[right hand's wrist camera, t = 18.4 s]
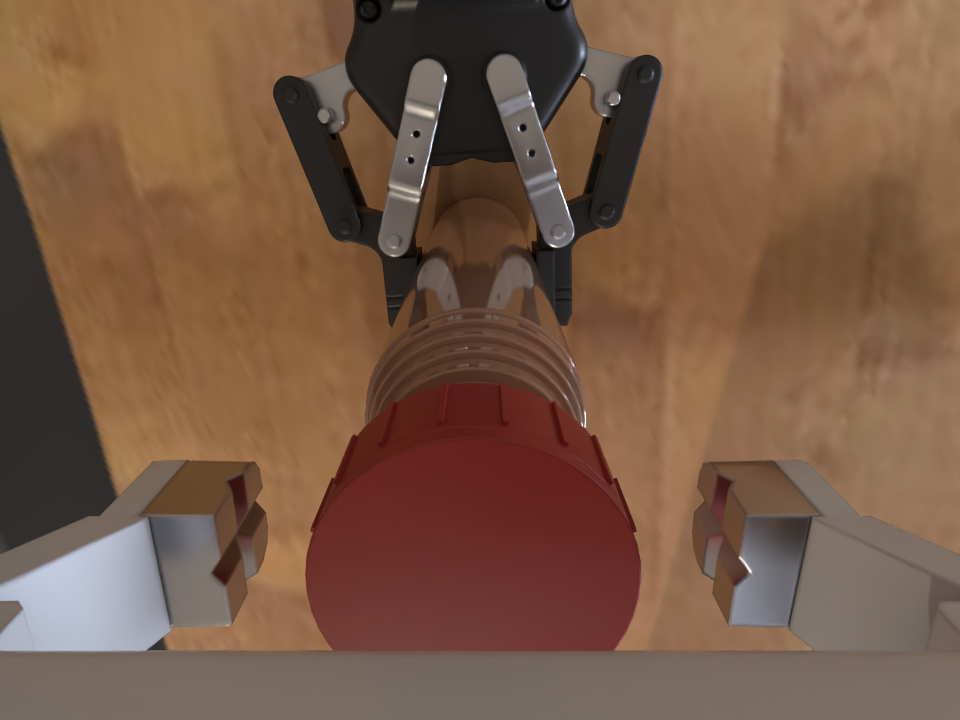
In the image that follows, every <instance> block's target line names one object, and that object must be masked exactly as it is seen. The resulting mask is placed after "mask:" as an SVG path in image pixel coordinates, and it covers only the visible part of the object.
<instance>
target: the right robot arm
mask: <svg viewBox="0 0 960 720" xmlns="http://www.w3.org/2000/svg"><path fill="white" fill-rule="evenodd" d="M262 488H263V487H262V481H261V475H260V469H259V467H258V466H257V464H256V463H255V462H240V461H189V460H166V461H153V462H152V463H151V464H150V465H149V466H148V467H147V468H146V469H145V470H144V471H143V472H142V473H141V474H140V475H139V476H138V477H137V478H136V479H135V480H134V482H133V483H132V484H131V485H130V486H129V487H128V488H127V489H126V490H125V491H124V492H123V493H122V494H121V495H120V496H119V497H118V498H117V499H116V500H115V501H114V502H113V503H112V504H111V505H110V506H109V507H108V508H107V509H106V510H105V511H104V512H103V513H102V514H101V515H100V516H92V517H90V516H89V517H86V518H84V519H82V520H79V521H77V522H75V523H72V524H70V525H68V526H66V527H63V528H61V529H58V530H56V531H54V532H51V533H49V534H47V535H45V536H42V537H40V538H37V539H35V540H33V541H30V542H28V543H26V544H24V545H21V546H19V547H17V548H14V549H12V550H10V551H7V552H5V553H3V554H0V720H960V554H957V553H955V552H953V551H950V550H948V549H946V548H943V547H941V546H939V545H936V544H934V543H932V542H929V541H927V540H925V539H922V538H920V537H918V536H915V535H913V534H911V533H908V532H906V531H904V530H902V529H899V528H897V527H895V526H892V525H890V524H888V523H885V522H883V521H881V520H878V519H876V518H874V517H871V516H860V515H859V514H858V513H857V512H856V511H855V510H854V509H853V508H852V507H851V506H850V505H849V504H848V503H847V502H846V501H845V500H844V499H843V498H842V497H841V496H840V495H839V494H838V493H837V492H836V491H835V490H834V489H833V488H832V487H831V486H830V484H829V483H828V482H827V481H826V480H825V479H824V478H823V477H822V476H821V475H820V474H819V473H818V472H817V471H816V470H815V469H814V468H813V467H812V466H811V465H810V464H809V463H808V462H806V461H803V460H783V461H773V460H772V461H730V462H707V463H703V465H702V468H701V470H700V473H699V480H698V486H697V488H698V489H699V491H700V493H701V495H702V496H703V498H704V500H705V501H704V502H703V503H702V504H701V505H700V507H699V508H698V509H697V510H696V511H695V512H694V518H693V528H692V535H693V548H694V552H695V556H696V560H697V563H698V565H699V567H700V569H701V571H702V573H703V574H705V575H706V576H708V577H709V578H711V579H712V580H714V585H713V592H712V594H713V596H714V598H715V600H716V602H717V604H718V606H719V608H720V610H721V612H722V614H723V616H724V618H725V620H726V622H727V624H728V626H754V627H789V631H791V632H792V633H793V634H794V635H796V636H797V637H798V638H799V639H801V640H802V641H803V642H804V643H806V644H807V645H808V646H810V647H811V648H812V649H813V650H815V651H146V650H147V649H148V648H149V647H151V646H152V645H153V644H155V643H156V642H157V641H158V640H160V639H161V638H162V637H163V636H165V635H166V634H167V633H168V632H170V631H171V627H205V626H232V624H233V622H234V620H235V618H236V616H237V614H238V612H239V610H240V608H241V606H242V604H243V602H244V600H245V598H246V596H247V594H248V592H247V585H246V580H248V579H249V578H251V577H252V576H254V575H255V574H257V573H258V571H259V569H260V567H261V565H262V562H263V560H264V556H265V551H266V546H267V535H268V525H267V517H266V512H265V511H264V510H263V509H262V508H261V507H260V505H259V504H258V503H257V502H256V501H255V500H256V498H257V496H258V495H259V493H260V491H261V489H262Z"/></svg>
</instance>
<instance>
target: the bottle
mask: <svg viewBox="0 0 960 720" xmlns="http://www.w3.org/2000/svg"><path fill="white" fill-rule="evenodd" d="M445 382H448V385H450V384H460V383H490V384H497V385H499V384H500V382H503V383H506V386H509V387H513V388H517V389H520V390H524V391H527V392H529V393H532V394H534V395H537V396H539V397H542V398H544V399H546V400H547V401H549V402H551V403H552V402H553V401H556V402H557V403H558V404H559V407H560V408H561V409H563V410H564V411H565V412H567V413H568V414H569V415H570V416H572V417H573V418H574V419H576V420H577V421H578V422H579V423H580V424H581V425H582V426H583V427H584V428H585V429H586V406H585V394H584V389H583V384H582V381H581V378H580V375H579V372H578V370H577V367H576V365H575V362H574V360H573V357H572V354H571V352H570V349H569V347H568V344H567V342H566V339H565V337H564V334H563V331H562V329H561V326H560V324H559V321H558V319H557V316H556V314H555V311H554V308H553V306H552V303H551V301H550V298H549V296H548V293H547V291H546V288H545V285H544V283H543V280H542V278H541V275H540V273H539V270H538V268H537V265H536V262H535V260H534V257H533V255H532V252H531V250H530V247H529V245H528V242H527V239H526V237H525V234H524V232H523V229H522V227H521V224H520V222H519V221H518V219H517V218H516V216H515V215H514V214H513V213H512V211H511V210H510V209H508V208H507V207H506V206H504V205H503V204H501V203H499V202H497V201H495V200H492V199H488V198H481V197H475V198H468V199H464V200H462V201H459V202H457V203H455V204H453V205H452V206H451V207H449V208H448V209H447V210H446V211H445V212H444V213H443V214H442V215H441V217H440V218H439V220H438V221H437V223H436V225H435V228H434V230H433V232H432V235H431V237H430V239H429V242H428V244H427V246H426V249H425V251H424V253H423V256H422V258H421V261H420V263H419V265H418V268H417V270H416V272H415V275H414V277H413V279H412V282H411V284H410V286H409V289H408V291H407V293H406V296H405V298H404V301H403V303H402V305H401V308H400V310H399V312H398V315H397V317H396V319H395V322H394V324H393V326H392V329H391V331H390V333H389V336H388V338H387V341H386V343H385V345H384V348H383V350H382V352H381V355H380V357H379V359H378V362H377V364H376V366H375V369H374V371H373V374H372V376H371V379H370V383H369V387H368V391H367V400H366V411H365V425H368V424H369V423H370V422H371V421H372V420H373V419H374V418H375V417H376V416H377V415H379V414H380V413H382V412H383V411H384V410H386V409H387V408H388V407H389V404H390V402H392V401H395V402H396V403H397V402H399V401H401V400H403V399H405V398H407V397H408V396H411V395H413V394H416V393H419V392H422V391H424V390H427V389H431V388H435V387H440V386H442V383H445Z"/></svg>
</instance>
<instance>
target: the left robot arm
mask: <svg viewBox="0 0 960 720" xmlns="http://www.w3.org/2000/svg"><path fill="white" fill-rule="evenodd" d="M353 2H354V14H355V21H354V29H353V34H352V38H351V41H350V43H349V46H348V48H347V51H346V56H345V62H343V63H341V64H338V65H335V66H333V67H330V68H327V69H325V70H322V71H320V72H317V73H314V74H312V75H309V76H307V77H304V78H298V77H294V76H284V77H282V78H280V79H279V80H278V81H277V82H276V84H275V86H274V89H273V96H274V100H275V102H276V105H277V107H278V109H279V112H280V114H281V117H282V119H283V121H284V124H285V126H286V129H287V131H288V133H289V136H290V138H291V141H292V143H293V145H294V148H295V150H296V153H297V155H298V157H299V160H300V162H301V165H302V167H303V169H304V172H305V174H306V177H307V179H308V181H309V184H310V186H311V189H312V191H313V193H314V196H315V198H316V201H317V203H318V205H319V208H320V210H321V213H322V215H323V217H324V220H325V222H326V224H327V227H328V229H329V232H330V234H331V235H332V236H333V237H334V238H335V239H336V240H338V241H341V242H350V241H351V242H355V243H358V244H361V245H365V246H368V247H370V248H372V249H374V250H375V251H376V252H377V253H378V254H379V256H380V258H381V260H382V263H383V272H384V281H385V290H386V298H387V307H388V318H389V323H390V325H391V327H392V326H393V324H394V322H395V319H396V317H397V315H398V312H399V310H400V308H401V305H402V303H403V301H404V298H405V296H406V293H407V291H408V289H409V286H410V284H411V282H412V279H413V277H414V275H415V272H416V270H417V268H418V265H419V263H420V261H421V258H422V247H416V238H415V235H416V231H417V227H418V223H419V218H420V214H421V210H422V206H423V201H424V197H425V193H426V190H427V186H428V183H429V178H430V174H431V170H432V166H444V165H452V164H455V163H458V162H461V161H464V160H467V159H470V158H475V159H479V160H484V161H489V162H493V163H496V162H513V161H514V164H515V167H516V169H517V172H518V175H519V178H520V180H521V183H522V186H523V188H524V191H525V194H526V196H527V199H528V202H529V205H530V208H531V210H532V213H533V216H534V219H535V221H536V228H537V241H532V255H533V257H534V260H535V262H536V265H537V268H538V270H539V273H540V275H541V278H542V280H543V283H544V285H545V288H546V291H547V293H548V296H549V298H550V301H551V303H552V306H553V308H554V311H555V314H556V316H557V319H558V321H559V324H560V326H566V325H567V324H568V322H569V319H570V317H571V314H572V265H571V254H572V248H573V246H574V244H575V242H576V241H577V240H578V239H579V238H580V237H581V236H583V235H585V234H587V233H590V232H592V231H594V230H597V229H599V228H611V227H613V226H615V225H616V224H617V223H618V222H619V221H620V219H621V217H622V215H623V211H624V208H625V204H626V201H627V197H628V194H629V190H630V187H631V184H632V180H633V177H634V173H635V170H636V166H637V163H638V159H639V156H640V153H641V149H642V146H643V142H644V139H645V135H646V132H647V128H648V125H649V122H650V118H651V115H652V111H653V108H654V104H655V101H656V97H657V94H658V91H659V87H660V84H661V80H662V76H663V68H662V65H661V63H660V61H659V60H658V59H657V58H656V57H654V56H651V55H642V56H638V57H634V58H631V57H627V56H623V55H619V54H615V53H610V52H606V51H602V50H598V49H594V48H590V47H587V42H586V38H585V36H584V34H583V32H582V30H581V28H580V26H579V24H578V22H577V19H576V17H575V13H574V9H573V2H572V0H353ZM579 77H581V78H583V79H584V80H585V81H586V82H587V83H588V85H589V87H590V91H591V96H590V105H591V108H592V110H593V111H594V113H596V114H597V115H599V116H601V117H603V121H602V125H601V128H600V132H599V136H598V140H597V143H596V147H595V151H594V155H593V158H592V162H591V166H590V170H589V173H588V177H587V181H586V185H585V188H584V192H583V195H581V196H578V197H576V198H574V199H571V200H569V201H567V202H565V199H564V196H563V193H562V190H561V187H560V184H559V179H558V175H557V172H556V169H555V166H554V163H553V160H552V157H551V154H550V151H549V148H548V145H547V142H546V139H545V136H544V131H545V130H546V128H547V127H548V125H549V124H550V122H551V120H552V119H553V117H554V116H555V114H556V113H557V111H558V109H559V108H560V106H561V105H562V103H563V102H564V100H565V98H566V97H567V95H568V94H569V92H570V91H571V89H572V88H573V86H574V84H575V83H576V81H577V80H578V78H579ZM355 91H357V92H358V93H359V94H360V95H361V97H362V98H363V99H364V100H365V102H366V103H367V104H368V105H369V106H370V108H371V109H372V110H373V111H374V113H375V114H376V115H377V116H378V118H379V119H380V120H381V121H382V122H383V124H384V125H385V126H386V127H387V129H388V130H389V131H390V132H391V134H392V135H393V136H394V137H395V138H396V140H397V144H396V149H395V153H394V158H393V163H392V168H391V172H390V177H389V182H388V193H387V198H386V203H385V208H384V212H382V211H379V210H376V209H372V208H369V207H367V204H366V202H365V199H364V196H363V194H362V191H361V189H360V186H359V184H358V181H357V179H356V176H355V173H354V171H353V168H352V166H351V163H350V161H349V158H348V156H347V153H346V150H345V148H344V145H343V143H342V140H341V138H340V135H339V132H341V131H343V130H344V129H345V128H346V127H347V126H348V123H349V119H350V116H349V111H348V101H349V98H350V96H351V95H352V94H353V93H354V92H355Z"/></svg>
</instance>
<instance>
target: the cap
mask: <svg viewBox="0 0 960 720" xmlns="http://www.w3.org/2000/svg"><path fill="white" fill-rule="evenodd" d="M311 532H313V534H312V537H311V540H310V544H309V548H308V553H307V558H306V572H305V576H306V587H307V595H308V599H309V603H310V607H311V611H312V613H313V616H314V618H315V620H316V623H317V625H318V628H319V629H320V631H321V633H322V634H323V636H324V638H325V639H326V641H327V643H328V644H329V645H330V647H331V648H332V649H333V650H334V651H614V650H615V649H616V647H617V646H618V644H619V643H620V641H621V640H622V638H623V636H624V635H625V633H626V632H627V629H628V627H629V625H630V623H631V621H632V619H633V616H634V613H635V610H636V606H637V603H638V599H639V593H640V585H641V561H640V556H639V551H638V546H637V542H636V539H635V537H634V534H633V532H636V527H635V524H634V522H633V519H632V516H631V514H630V511H629V509H628V506H627V503H626V501H625V498H624V495H623V493H622V490H621V488H620V485H619V482H618V480H617V478H614V479H613V477H612V474H611V472H610V469H609V466H608V464H607V461H606V459H605V457H604V455H603V452H602V449H601V447H600V444H599V441H598V438H597V437H596V436H595V435H593V436H591V435H590V434H589V433H588V431H587V430H586V429H585V428H584V427H583V426H582V425H581V424H580V423H579V422H578V421H577V420H576V419H574V418H573V417H572V416H570V415H569V414H568V413H567V412H565V411H564V410H563V409H561V408H560V407H559V404H558V403H557V402H556V401H553V402H552V403H551V402H549V401H547V400H546V399H544V398H542V397H539V396H537V395H534V394H532V393H529V392H527V391H524V390H520V389H517V388H513V387H509V386H506V383H503V382H500V384H499V385H497V384H490V383H460V384H450V385H448V382H445V383H442V386H440V387H435V388H431V389H427V390H424V391H422V392H419V393H416V394H413V395H411V396H408V397H407V398H405V399H403V400H401V401H399V402H397V403H396V402H395V401H392V402H390V404H389V407H388V408H387V409H386V410H384V411H383V412H382V413H380V414H379V415H377V416H376V417H375V418H374V419H373V420H372V421H371V422H370V423H369V424H368V425H366V426H365V427H364V428H363V430H362V431H361V432H360V433H359V435H358V436H356V435H353V436H352V437H351V439H350V442H349V444H348V446H347V449H346V451H345V454H344V456H343V459H342V461H341V464H340V466H339V469H338V471H337V474H336V476H335V478H332V479H331V481H330V483H329V486H328V488H327V491H326V493H325V495H324V498H323V500H322V503H321V505H320V508H319V510H318V512H317V515H316V517H315V520H314V522H313V524H312V527H311Z"/></svg>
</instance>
